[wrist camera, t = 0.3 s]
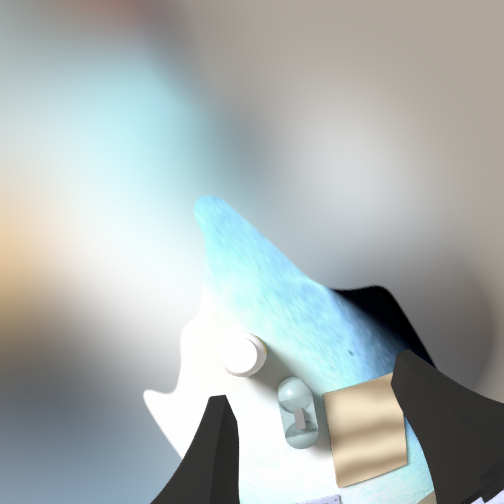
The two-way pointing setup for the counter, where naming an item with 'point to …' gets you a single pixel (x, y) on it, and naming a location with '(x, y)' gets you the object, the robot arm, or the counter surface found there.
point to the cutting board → (365, 430)
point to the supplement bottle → (242, 354)
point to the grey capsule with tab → (297, 413)
